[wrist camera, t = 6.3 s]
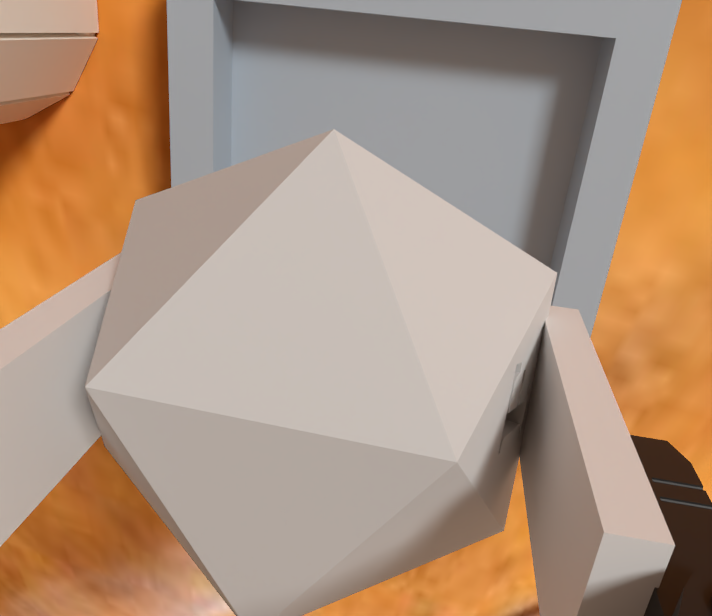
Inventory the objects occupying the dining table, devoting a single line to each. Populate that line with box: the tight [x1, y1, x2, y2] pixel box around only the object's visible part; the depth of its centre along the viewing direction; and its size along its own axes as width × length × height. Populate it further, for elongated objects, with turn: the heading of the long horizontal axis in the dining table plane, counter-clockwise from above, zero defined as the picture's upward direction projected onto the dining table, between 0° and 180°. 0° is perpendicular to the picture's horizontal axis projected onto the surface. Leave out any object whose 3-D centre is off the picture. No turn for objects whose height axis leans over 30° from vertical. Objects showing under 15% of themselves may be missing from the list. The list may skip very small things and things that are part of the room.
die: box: [85, 129, 557, 616], centre depth 13 cm, size 8×9×10 cm
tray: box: [167, 0, 682, 337], centre depth 24 cm, size 16×16×3 cm
